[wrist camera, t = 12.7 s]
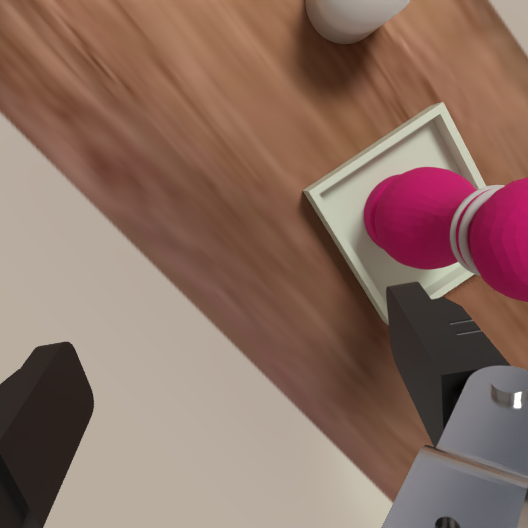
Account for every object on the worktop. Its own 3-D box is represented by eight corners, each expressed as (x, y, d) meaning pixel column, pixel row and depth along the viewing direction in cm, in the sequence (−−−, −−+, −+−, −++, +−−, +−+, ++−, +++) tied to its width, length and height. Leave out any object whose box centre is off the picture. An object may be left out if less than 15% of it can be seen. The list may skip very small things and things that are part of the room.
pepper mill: (430, 154, 38) (677, 132, 18) (453, 239, 39) (704, 303, 20) (345, 186, 37) (506, 198, 18) (372, 271, 39) (546, 368, 19)
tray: (302, 190, 37) (308, 191, 35) (429, 105, 38) (443, 102, 36) (382, 321, 40) (392, 328, 38) (500, 242, 40) (516, 245, 38)
